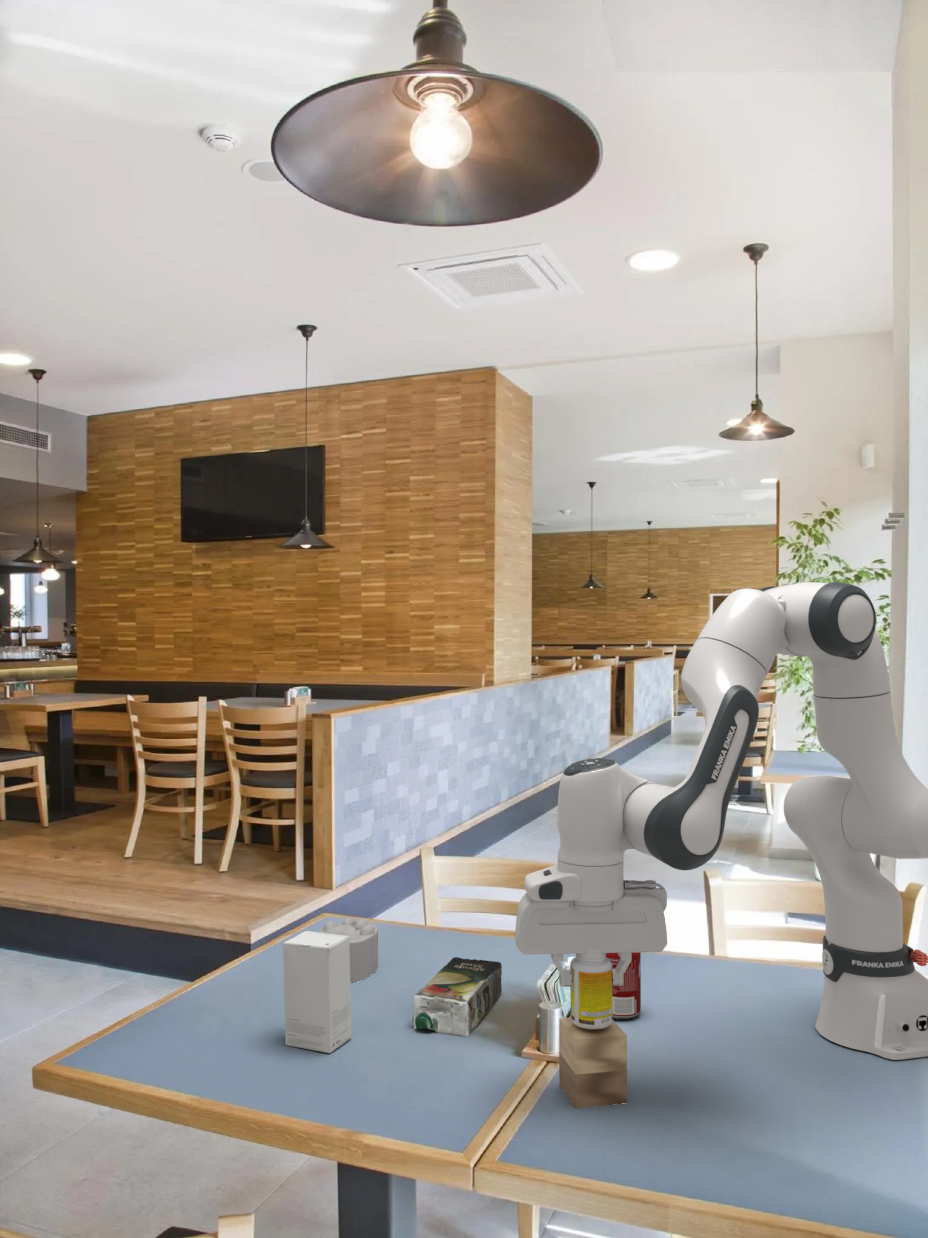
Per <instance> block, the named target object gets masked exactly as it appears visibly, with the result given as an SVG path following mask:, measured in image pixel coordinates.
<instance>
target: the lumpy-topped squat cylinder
mask: <svg viewBox="0 0 928 1238" xmlns="http://www.w3.org/2000/svg"><path fill="white" fill-rule="evenodd" d="M318 932H319V933H327V934H336V935H344V936H349V944H350V948H349V949H350V982H354V983H358V982H357V981H360V980H363V981H365V980H366V978H367V977H369V976H370V975H371V974H373V973H374V972H375V971H376V970H377V968H378V967H379V959H378V958H379V930H378V928H377V926H376V925H375V924H373V923H372V922H371V923H370V922H369V921H368V920H367V919H365V918H360V919H359V920H357V919H354V918H352V917H346V918H345V919H344V920H342V922H339V923H337V922H336V921H334V920H329V921H327V922H326V923H325V924H324V926H323V928H322V929H321V930H320V931H318ZM378 969H379V968H378ZM377 971H378V970H377ZM377 971H376V972H377ZM376 972H375V973H376ZM375 973H374V974H375ZM374 974H373V975H374ZM371 976H372V975H371ZM371 976H370V977H371ZM370 977H369V978H370ZM364 979H365V980H364ZM367 979H368V978H367ZM360 982H361V981H360Z"/></svg>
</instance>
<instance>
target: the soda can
mask: <svg viewBox="0 0 928 1238" xmlns="http://www.w3.org/2000/svg"><path fill="white" fill-rule="evenodd" d="M641 954H642V952H634V953H632V961H631V962H630V964H629V966H628V967H627V969H626V971H625V973H623V986H612V1014H613V1015H612V1020H619V1021H620V1020H621V1021H623V1020H624V1021H627V1020H630V1018H631V1019H634V1018H635V1017H637V1016H638V1015H641V1011H642V1005H641V1004H642V1001H641V1000H642V993H641V991H642V990H641V988H642V987H641V986H642V985H641V981H642V978H641V977H642V972H641V967H642V966H641V965H642V964H641V963H642V962H641V961H642V960H641V959H642V958H641V957H642V956H641ZM606 958H607V959H608V960H610V962H611V964H612V969H616V967H617V965H618V963H619V961H620V959H621V958H620V957H619V955H618V953H606Z"/></svg>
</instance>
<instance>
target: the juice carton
mask: <svg viewBox="0 0 928 1238" xmlns="http://www.w3.org/2000/svg"><path fill="white" fill-rule="evenodd" d="M502 974H503V973H502V963H501V962H500V961H492V960H485V959H478V960H477V959H474V958H473V959H470V958H461V957H459V956H458V957H457V956H456V957H452V958H451V959H450V961H449V962H447V963H446V965H444V966H443V967H442V968H441V969H440V970H439V971H438V972H437V973H436V974H435V976H434V977H432V978H431V979H430V980H429V982H427V983H426V985H424V986H423V987H422V988H420V989H419V991H417V993H415V995H414V996H413V1010H414V1013H413V1015H412V1022H413V1029H414V1030H425V1029H426V1030H427V1029H428V1030H431V1032H432V1031H435V1032H436V1033H438V1034H444V1035H445V1034H447V1035H450V1034H451V1035H454V1036H455V1035H456V1036H460V1037H469V1036H470V1035H471V1033H472V1032H473V1031H474V1030H475V1029H476V1028H477V1027H478V1025H479V1024H480V1023H481V1021H482V1019H483V1018H484V1017H485V1016H486V1014H487V1013H488V1012H489V1011H490V1009H491V1008H492V1007H493V1006H494V1004H495V1003H496V1002H497V1001H498V999H500V997H502V996H501V995H502Z"/></svg>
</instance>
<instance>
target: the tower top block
mask: <svg viewBox="0 0 928 1238" xmlns="http://www.w3.org/2000/svg"><path fill="white" fill-rule="evenodd" d="M558 1023H559V1024H558V1025H559V1029H558V1030H559V1031H558V1032H559V1033H558V1034H559V1035H558V1036H559V1042H558V1043H559V1045H558V1047H559V1048H558V1050H559V1051H558V1053H559V1052H560V1054H561V1055H562V1056H563V1058H564V1059H565V1061H566V1062H567V1063H568V1065H569V1066H570V1068H571V1069H572V1070H573V1072H574V1073H575V1074H576V1075H577V1074H588V1073H599V1072H611V1071H622V1070H627V1071H628V1063H627V1062H628V1037H627V1036H628V1035H627V1034H626V1032H625V1031H623V1029H622V1028H621V1027H620V1026H619V1025H618V1024H617V1023H616V1021H615V1020H614V1019H612V1023H611V1024H610V1025H609V1026H608V1027H605V1028H602V1029H585V1028H581V1027H578V1026H577V1025H575V1024H574V1023H573V1022H572V1020H571V1017H562V1018H561V1017H560V1018H559V1022H558Z"/></svg>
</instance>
